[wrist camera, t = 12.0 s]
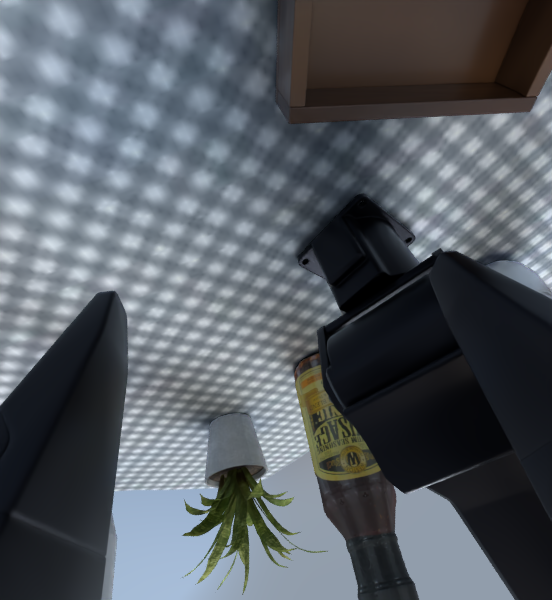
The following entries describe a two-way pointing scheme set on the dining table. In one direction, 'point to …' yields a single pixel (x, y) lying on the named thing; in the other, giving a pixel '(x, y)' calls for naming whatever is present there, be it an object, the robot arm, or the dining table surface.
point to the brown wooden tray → (410, 58)
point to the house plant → (236, 492)
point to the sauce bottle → (353, 491)
